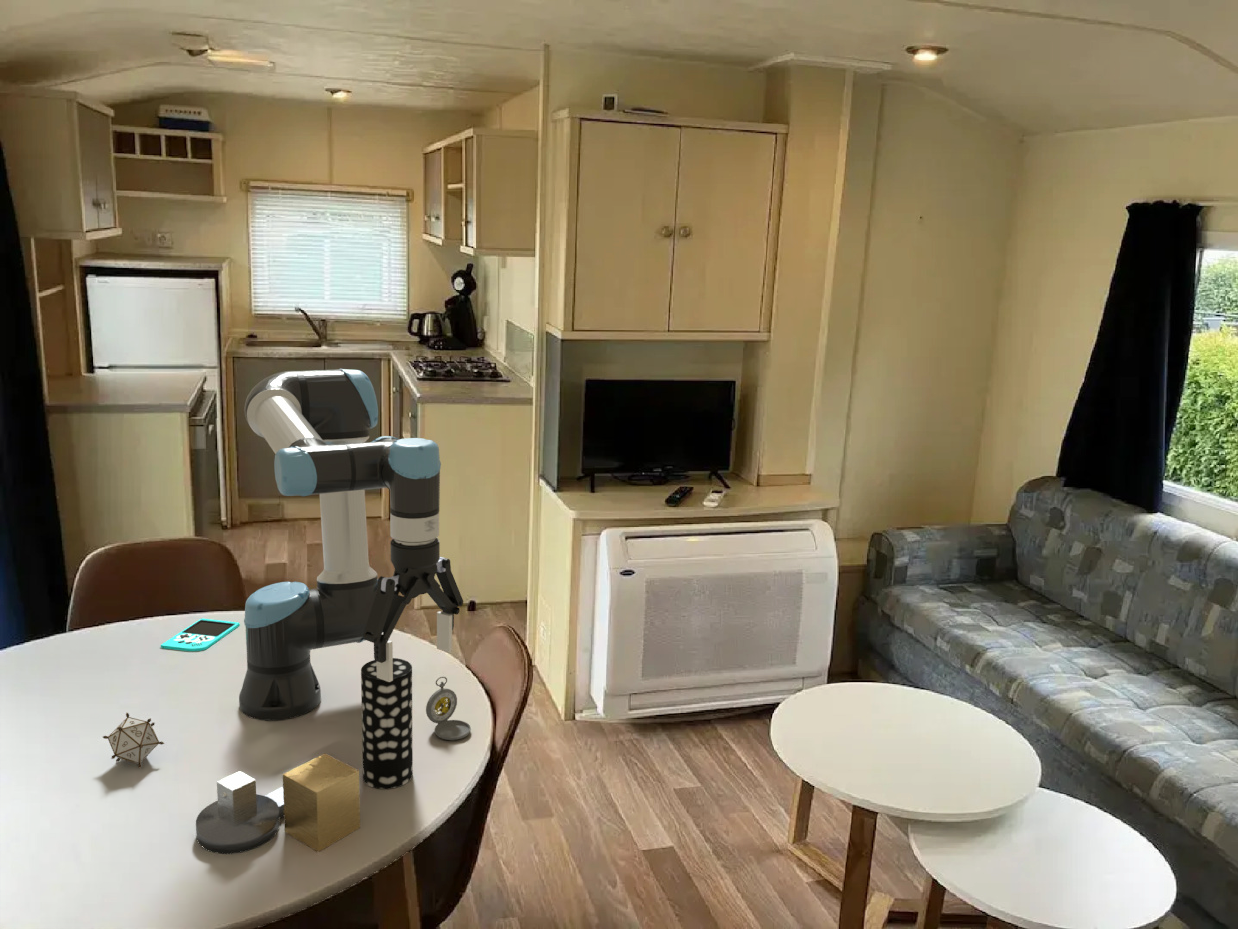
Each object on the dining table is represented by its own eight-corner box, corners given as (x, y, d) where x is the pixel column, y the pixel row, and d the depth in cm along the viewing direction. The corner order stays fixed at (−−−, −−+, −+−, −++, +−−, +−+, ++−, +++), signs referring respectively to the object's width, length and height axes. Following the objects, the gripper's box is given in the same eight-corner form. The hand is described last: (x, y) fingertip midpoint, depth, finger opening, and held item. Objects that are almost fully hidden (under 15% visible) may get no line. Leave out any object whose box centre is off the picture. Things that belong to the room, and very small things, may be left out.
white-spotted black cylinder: (388, 794, 165) (386, 684, 160) (352, 778, 169) (350, 670, 165) (422, 773, 172) (422, 666, 167) (387, 758, 176) (386, 653, 172)
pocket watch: (463, 744, 182) (463, 694, 180) (420, 738, 184) (419, 688, 181) (478, 723, 190) (478, 675, 188) (436, 717, 191) (436, 669, 189)
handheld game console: (159, 650, 216) (158, 644, 216) (201, 622, 232) (200, 617, 232) (201, 655, 215) (201, 649, 215) (240, 627, 230) (240, 621, 230)
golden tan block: (284, 832, 154) (282, 774, 152) (326, 809, 160) (325, 753, 158) (318, 852, 149) (316, 792, 147) (360, 827, 156) (359, 770, 154)
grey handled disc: (309, 769, 172) (307, 724, 170) (355, 793, 165) (354, 747, 163) (180, 833, 152) (177, 783, 150) (227, 864, 146) (224, 812, 144)
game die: (149, 777, 174) (183, 734, 173) (111, 784, 166) (147, 739, 165) (120, 741, 177) (154, 698, 176) (82, 746, 169) (117, 702, 168)
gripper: (373, 563, 143) (375, 699, 147) (485, 525, 163) (483, 645, 168) (336, 553, 146) (339, 685, 151) (450, 516, 167) (450, 634, 172)
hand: (415, 664), depth 160 cm, fingers open, 13 cm apart
